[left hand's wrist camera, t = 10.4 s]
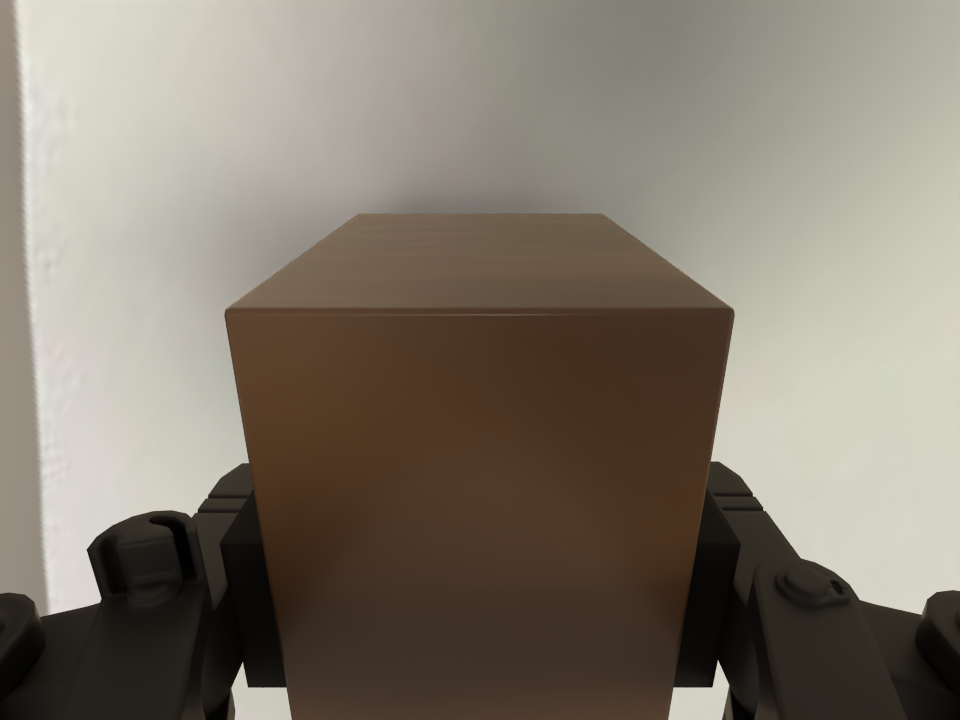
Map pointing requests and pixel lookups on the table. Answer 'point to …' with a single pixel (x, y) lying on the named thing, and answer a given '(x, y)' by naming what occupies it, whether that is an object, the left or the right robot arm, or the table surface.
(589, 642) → the post
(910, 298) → the table surface
